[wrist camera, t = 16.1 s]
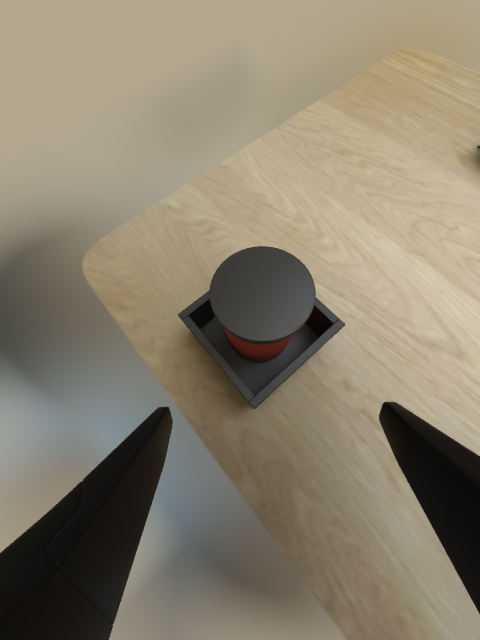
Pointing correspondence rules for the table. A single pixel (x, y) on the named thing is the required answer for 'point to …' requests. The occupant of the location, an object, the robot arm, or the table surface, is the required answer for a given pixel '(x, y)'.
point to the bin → (264, 376)
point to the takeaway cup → (261, 300)
